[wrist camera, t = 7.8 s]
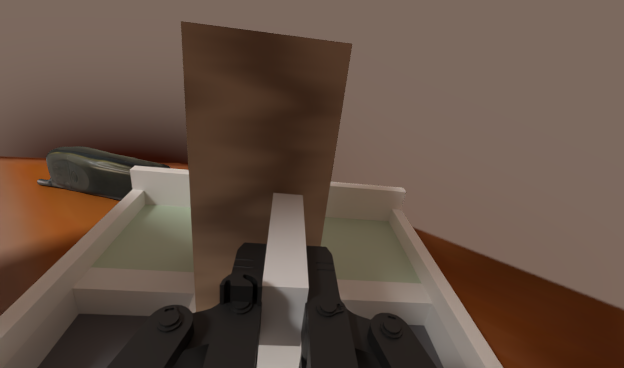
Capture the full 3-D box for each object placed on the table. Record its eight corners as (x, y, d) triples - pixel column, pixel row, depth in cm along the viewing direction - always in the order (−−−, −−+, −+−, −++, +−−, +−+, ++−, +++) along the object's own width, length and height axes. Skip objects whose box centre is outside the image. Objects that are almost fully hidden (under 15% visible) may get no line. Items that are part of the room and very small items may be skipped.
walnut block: (196, 323, 18) (181, 21, 12) (203, 250, 25) (196, 24, 18) (310, 310, 20) (352, 43, 14) (290, 245, 26) (313, 39, 20)
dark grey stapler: (174, 161, 35) (46, 138, 35) (159, 170, 32) (21, 145, 33) (176, 200, 37) (55, 178, 37) (162, 212, 34) (32, 188, 35)
